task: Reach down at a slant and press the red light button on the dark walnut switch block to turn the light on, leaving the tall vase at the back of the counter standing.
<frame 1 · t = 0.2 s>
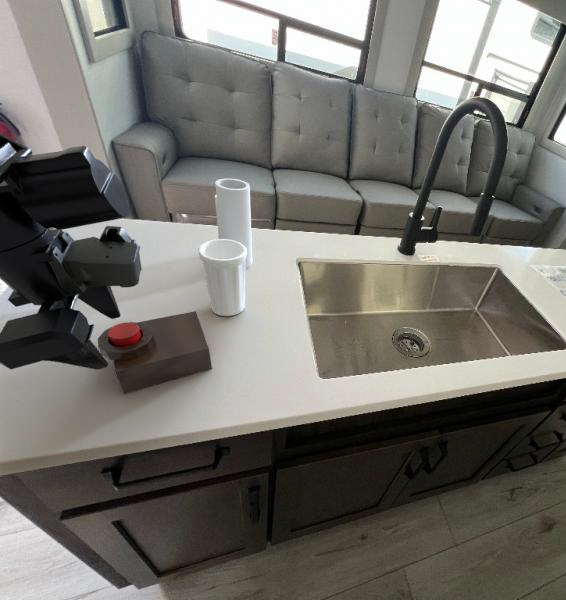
hand: (110, 340, 42), 13 cm above the worktop, tool tilted 15°, fingers open, 9 cm apart
led button: (125, 334, 50), point 7 cm above the worktop, slide at 0.1 cm
cup: (228, 308, 69), on the worktop
vase: (236, 257, 84), on the worktop
switch block: (166, 359, 56), on the worktop
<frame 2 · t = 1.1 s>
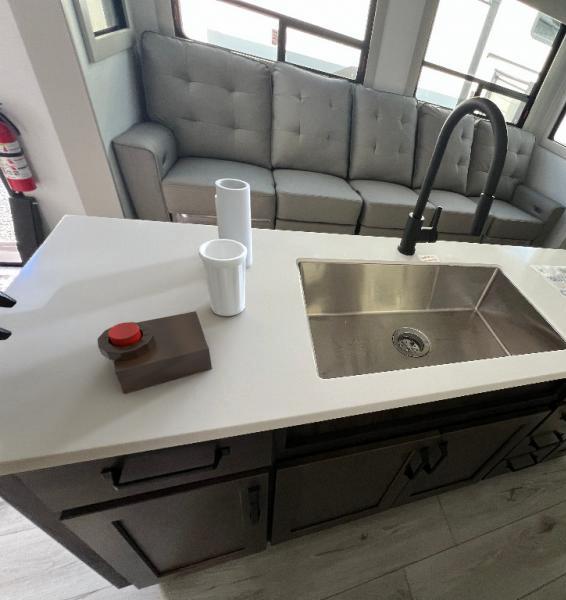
hand: (12, 319, 40), 13 cm above the worktop, tool tilted 45°, fingers open, 6 cm apart
nothing on the worktop moved.
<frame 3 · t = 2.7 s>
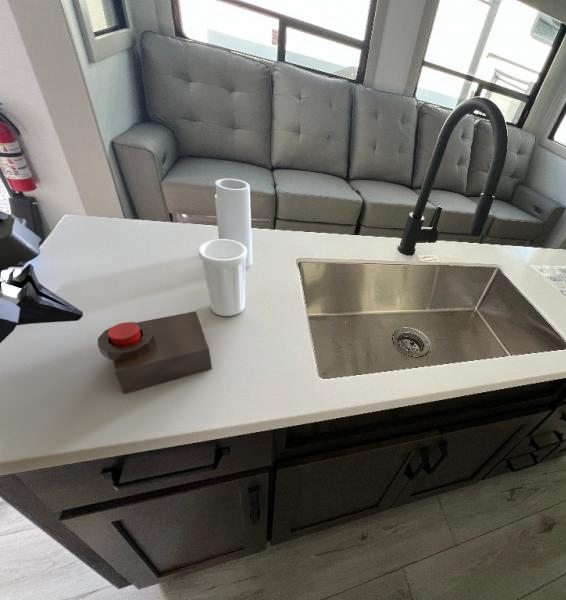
hand: (80, 316, 45), 12 cm above the worktop, tool tilted 45°, fingers closed
nothing on the worktop moved.
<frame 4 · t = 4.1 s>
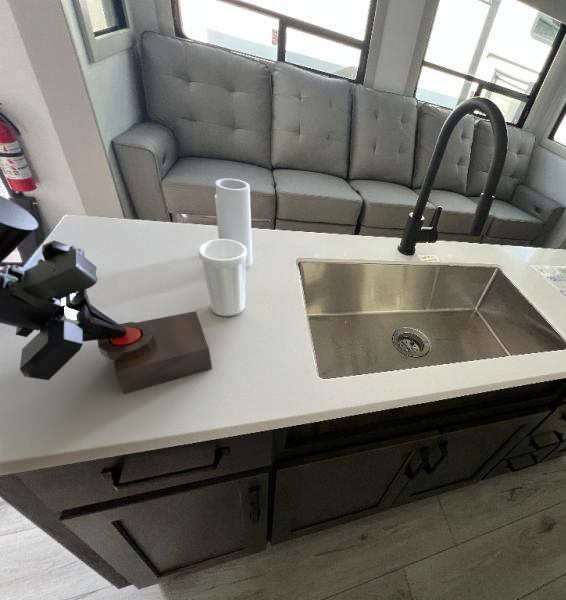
hand: (124, 333, 50), 8 cm above the worktop, tool tilted 45°, fingers closed, pressing on led button
led button: (127, 339, 50), point 6 cm above the worktop, slide at -1.0 cm, touching gripper
everything else where it was.
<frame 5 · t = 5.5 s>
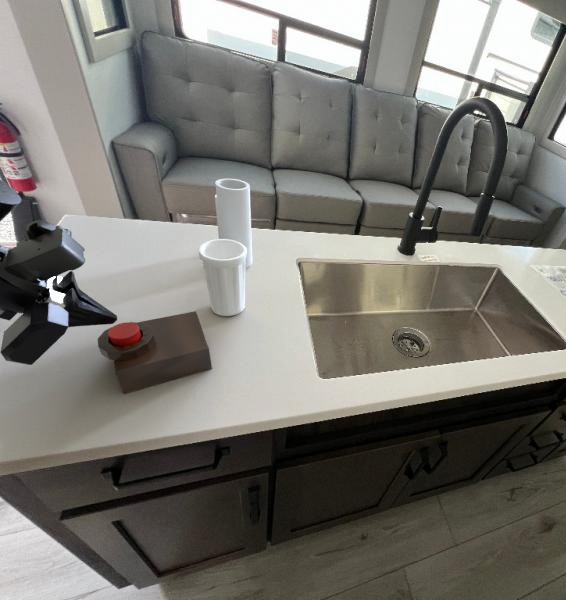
hand: (115, 320, 48), 10 cm above the worktop, tool tilted 45°, fingers closed
led button: (125, 334, 50), point 7 cm above the worktop, slide at 0.1 cm
everything else where it was.
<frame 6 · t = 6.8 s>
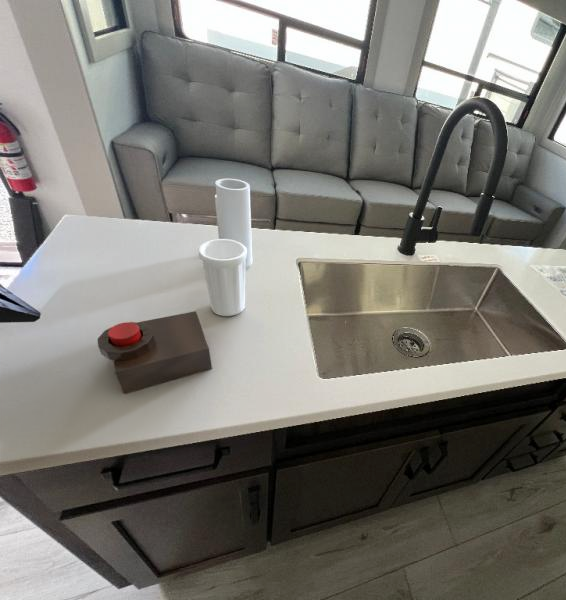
hand: (38, 317, 42), 13 cm above the worktop, tool tilted 40°, fingers closed
nothing on the worktop moved.
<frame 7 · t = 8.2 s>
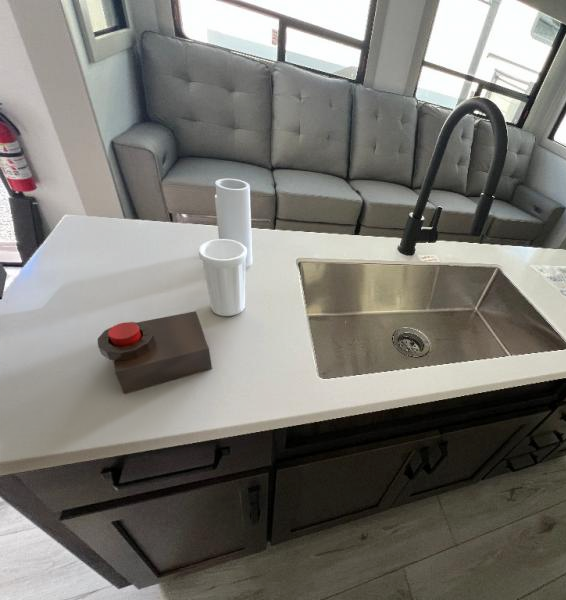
nothing on the worktop moved.
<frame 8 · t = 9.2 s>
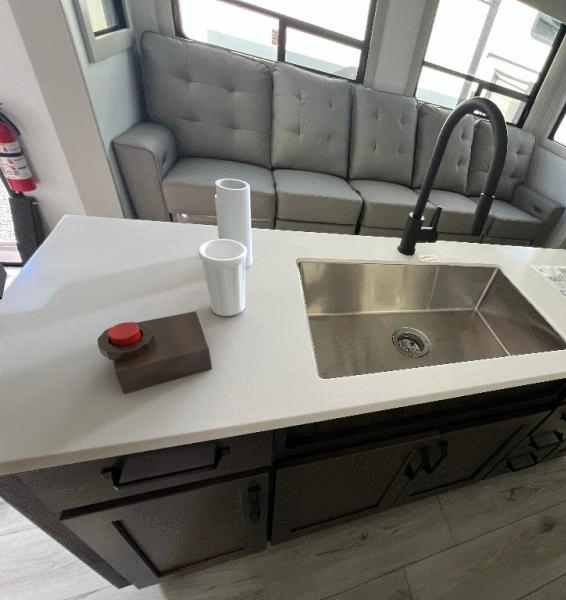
nothing on the worktop moved.
at the end: led button pushed in 1.3 cm at the most during the clip, back to where it started at the end; led button slide at 0.1 cm; vase tilted 0° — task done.
